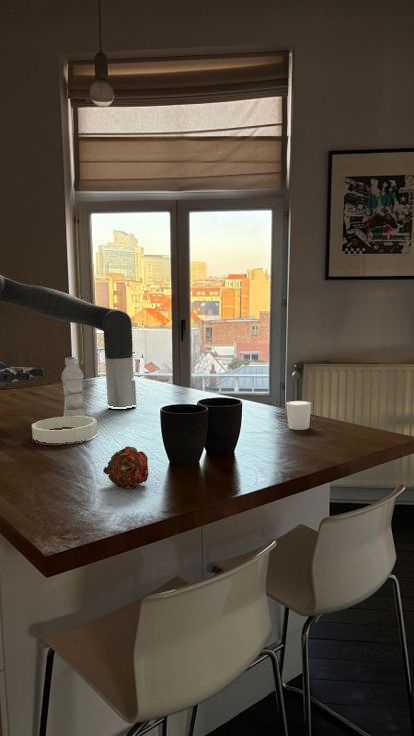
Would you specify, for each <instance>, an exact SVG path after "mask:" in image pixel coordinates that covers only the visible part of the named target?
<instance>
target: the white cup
mask: <svg viewBox="0 0 414 736" xmlns="http://www.w3.org/2000/svg"><path fill="white" fill-rule="evenodd" d="M285 406H286V415H287V425H288V428H289V429H291V430H295V431H296V430H298V431H300V430H301V431H302V430H303V431H304V430H307V429H309V428H310V421H311V420H310V419H311V412H312V411H311V409H312V402H311V401H309V400H291V401H287V402H285Z"/></svg>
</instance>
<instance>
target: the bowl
mask: <svg viewBox="0 0 414 736" xmlns="http://www.w3.org/2000/svg"><path fill="white" fill-rule="evenodd" d="M62 427H74V428H72V429H62V430H49V429H54V428H62ZM31 431H32V435H31V436H32V440H33V439H34V440H38V441H40V442H46V443H65V442H75V441H81V440H85V439H88V438H92V437H93V436H95V435H96V434H97V433H98V434H99V432H98V431H99V427H98V420H97V419H96V418H95V417H92V416H91V417H90V416H87V415H86V416H64V415H63V416H57V417H56V416H55V417H51V418H46V419H41V420H38V421H36V422H34V423H32V424H31Z"/></svg>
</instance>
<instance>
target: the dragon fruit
mask: <svg viewBox="0 0 414 736" xmlns="http://www.w3.org/2000/svg"><path fill="white" fill-rule="evenodd" d="M148 461H149V459H148V455H146V453H145V452H144V451H138V449H137V448H136V447H134V446H130V445H129V446H125V447H124V448H122V449H120V450H119V451H116V452H115V453H113V455H112V456H111V457H110V460H109V461H108V462H107V465H106V466H104V468H103V473H104V475H107V476H108V479H109V481H111V483H113V484H114V485H116V486H118V487H122V488H124V489H130V490H133V489H135V488H136V487H137V486H138V485H141V484H143V483H144V484H145V483H146V482H147V480H148V478H149V474H150V473H149V464H148V463H149V462H148Z"/></svg>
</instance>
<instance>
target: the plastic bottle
mask: <svg viewBox="0 0 414 736" xmlns="http://www.w3.org/2000/svg"><path fill="white" fill-rule="evenodd" d="M78 364H79V361H78V357H77V356H75V357H73V356H71V357H65V358H64V365H65V368H64V369H63V371H62V373H61V381H62V383H61V384H62V388H63V394H64V395H63V396H64V410H63V417H64V416H87V412H86V409H85V403H84V395H83V393H84V377H85V375H84V372H83V370H82V369H81V368H80V367H79V365H78Z"/></svg>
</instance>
